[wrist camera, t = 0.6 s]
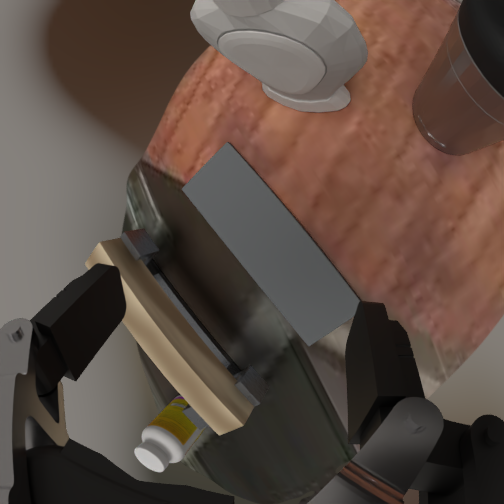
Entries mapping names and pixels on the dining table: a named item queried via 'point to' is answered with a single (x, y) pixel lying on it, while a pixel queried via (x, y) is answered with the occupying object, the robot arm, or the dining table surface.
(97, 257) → the rail
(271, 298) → the mat
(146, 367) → the dining table surface
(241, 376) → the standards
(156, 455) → the supplement bottle
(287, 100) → the soap bottle
